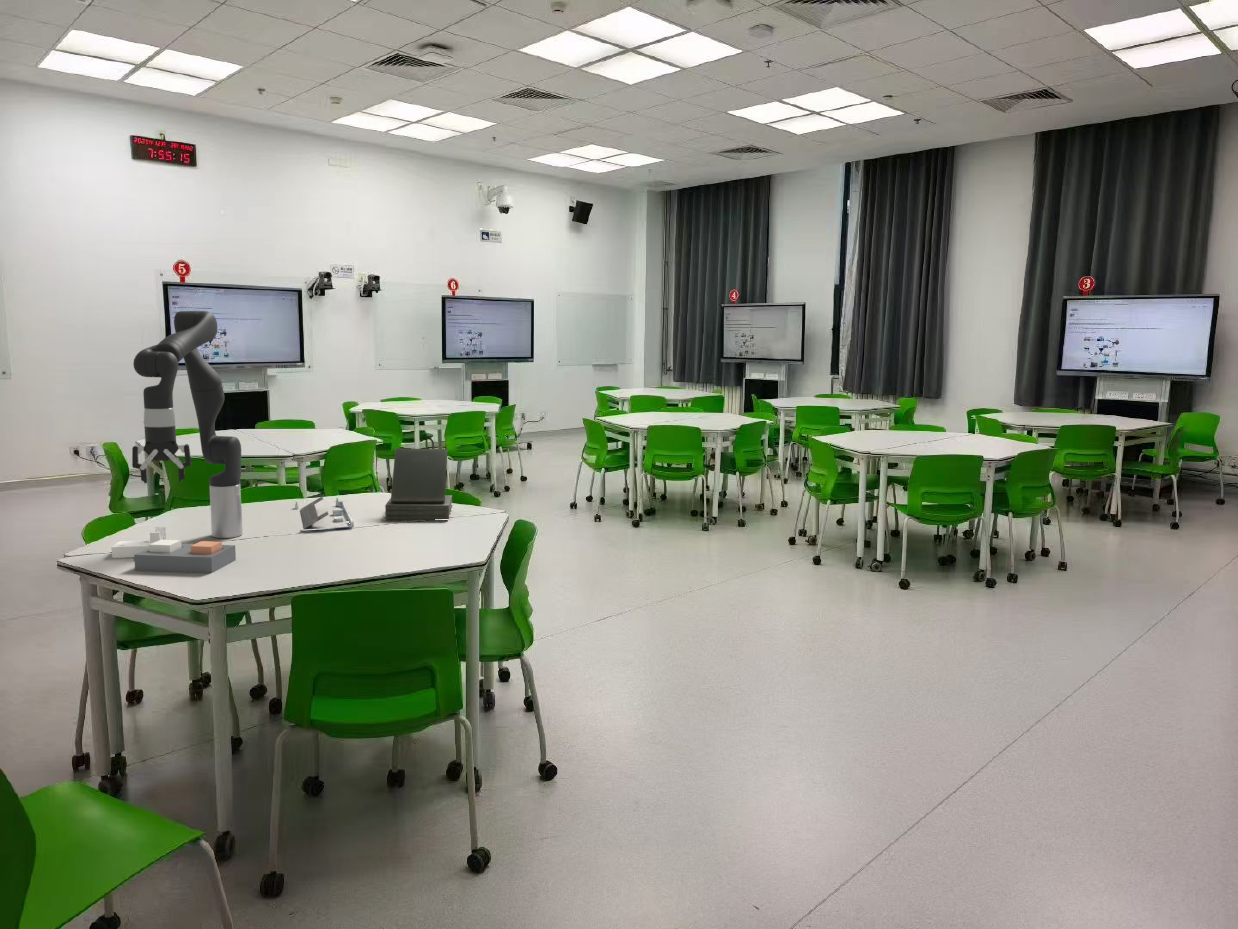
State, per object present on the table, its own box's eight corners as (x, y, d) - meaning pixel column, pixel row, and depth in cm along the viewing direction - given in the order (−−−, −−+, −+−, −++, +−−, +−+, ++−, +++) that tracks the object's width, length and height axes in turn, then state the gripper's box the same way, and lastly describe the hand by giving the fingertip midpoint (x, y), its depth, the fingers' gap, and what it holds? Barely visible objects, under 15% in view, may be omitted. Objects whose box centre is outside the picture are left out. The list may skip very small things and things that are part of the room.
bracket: (166, 551, 257) (165, 527, 256) (160, 556, 251) (159, 532, 250) (119, 552, 254) (117, 528, 253) (112, 558, 247) (110, 534, 246)
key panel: (163, 557, 249) (162, 542, 248) (235, 560, 249) (235, 545, 248) (135, 570, 235) (134, 554, 235) (212, 573, 235) (211, 557, 234)
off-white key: (161, 551, 245) (160, 539, 244) (181, 551, 245) (181, 540, 244) (149, 556, 239) (149, 544, 238) (170, 557, 239) (169, 545, 238)
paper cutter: (344, 506, 331) (343, 492, 330) (355, 531, 290) (355, 516, 289) (295, 508, 324) (294, 494, 323) (299, 535, 283) (299, 519, 282)
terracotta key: (201, 552, 244) (201, 541, 244) (222, 553, 244) (221, 541, 244) (191, 558, 238) (190, 546, 238) (211, 558, 238) (211, 546, 238)
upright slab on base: (385, 521, 306) (384, 454, 302) (392, 510, 325) (392, 447, 322) (448, 521, 309) (448, 455, 305) (452, 510, 328) (452, 447, 325)
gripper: (189, 422, 236) (192, 478, 239) (131, 423, 230) (135, 480, 233) (188, 425, 229) (191, 483, 232) (128, 426, 223) (132, 485, 226)
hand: (163, 482), depth 232 cm, fingers open, 8 cm apart
